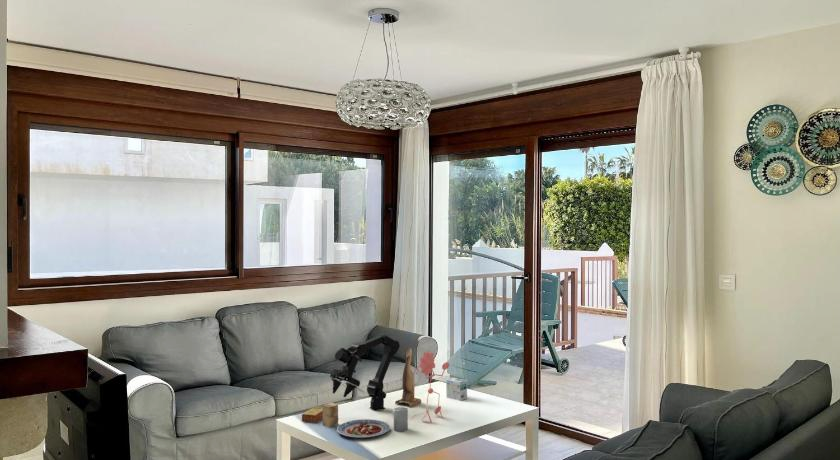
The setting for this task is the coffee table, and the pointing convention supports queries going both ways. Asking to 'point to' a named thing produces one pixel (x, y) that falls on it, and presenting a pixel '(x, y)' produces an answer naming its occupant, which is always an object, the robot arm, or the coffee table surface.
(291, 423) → the coffee table surface
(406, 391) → the bird sculpture
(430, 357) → the figurine
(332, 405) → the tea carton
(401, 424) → the grey tapered cylinder
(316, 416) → the carton
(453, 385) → the light bulb box
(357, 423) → the ceramic plate
